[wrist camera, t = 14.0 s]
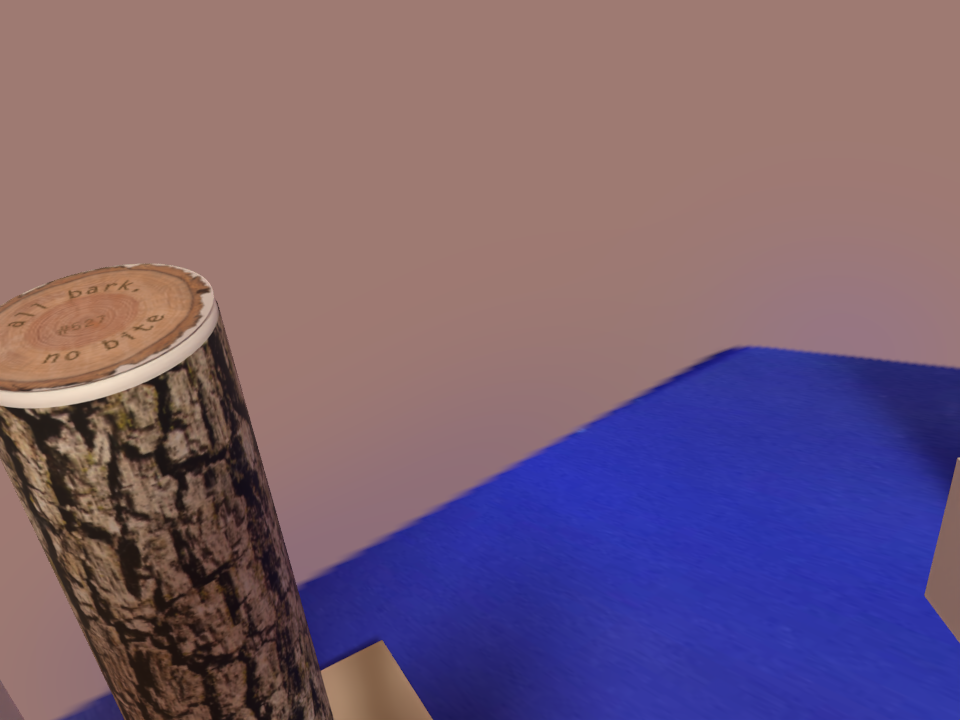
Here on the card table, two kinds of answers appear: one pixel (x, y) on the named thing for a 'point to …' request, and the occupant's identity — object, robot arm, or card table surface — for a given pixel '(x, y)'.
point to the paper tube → (154, 496)
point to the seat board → (371, 688)
